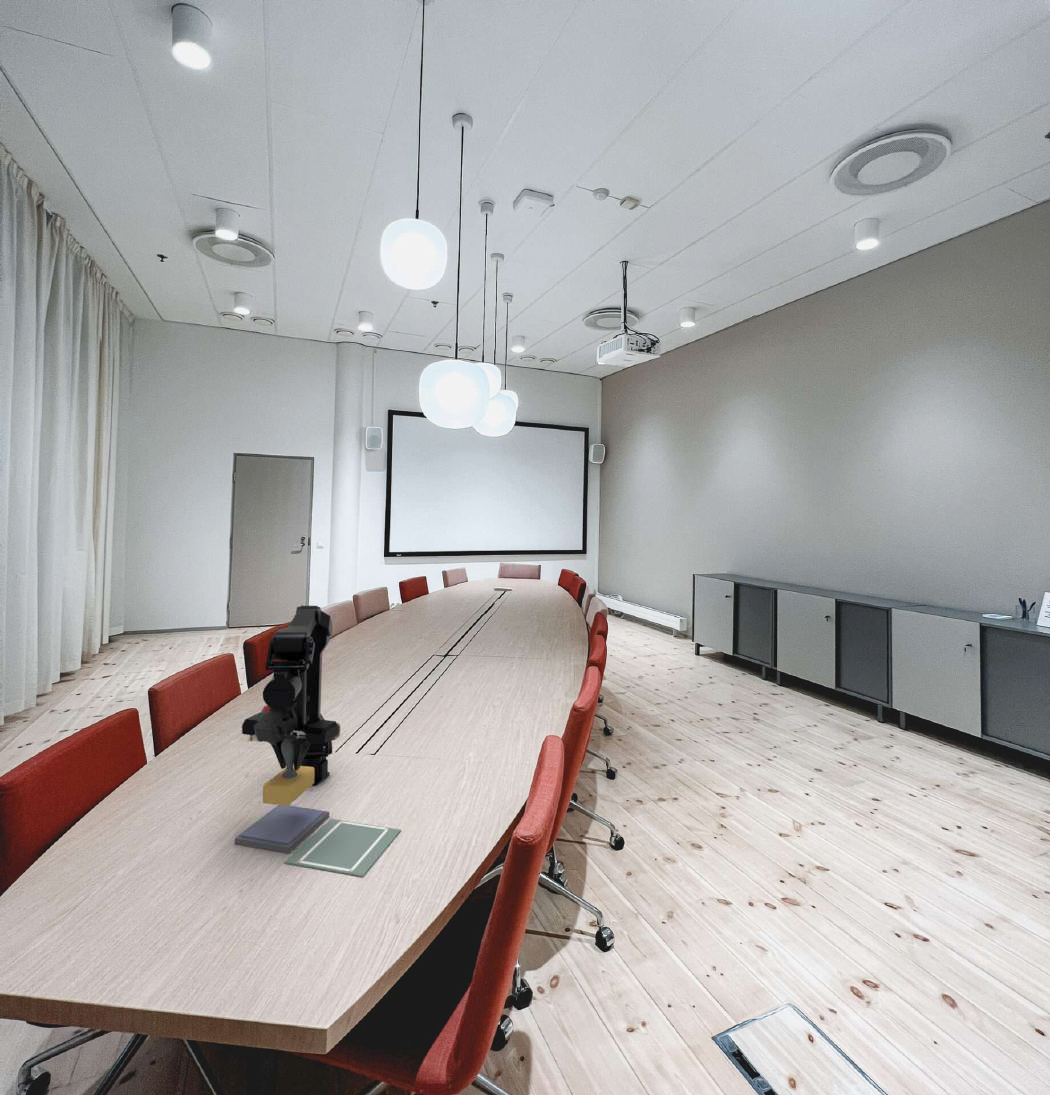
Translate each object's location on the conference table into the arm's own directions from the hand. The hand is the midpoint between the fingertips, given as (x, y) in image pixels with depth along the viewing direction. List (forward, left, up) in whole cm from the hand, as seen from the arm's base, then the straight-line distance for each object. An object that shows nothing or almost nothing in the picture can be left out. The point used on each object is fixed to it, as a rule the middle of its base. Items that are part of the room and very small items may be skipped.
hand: (290, 769), depth 117 cm
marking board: (+14, -2, -13) cm, 19 cm away
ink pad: (-1, 0, -13) cm, 13 cm away
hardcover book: (-39, +51, -14) cm, 65 cm away
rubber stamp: (0, 0, -5) cm, 5 cm away
